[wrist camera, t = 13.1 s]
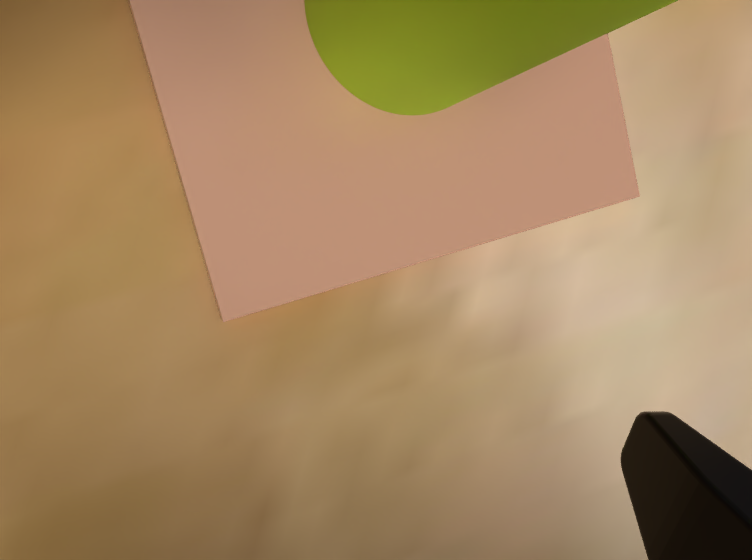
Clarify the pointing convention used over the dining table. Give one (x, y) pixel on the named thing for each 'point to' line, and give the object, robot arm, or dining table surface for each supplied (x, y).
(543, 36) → the soap dispenser
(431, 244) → the terracotta tile
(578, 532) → the dining table surface
